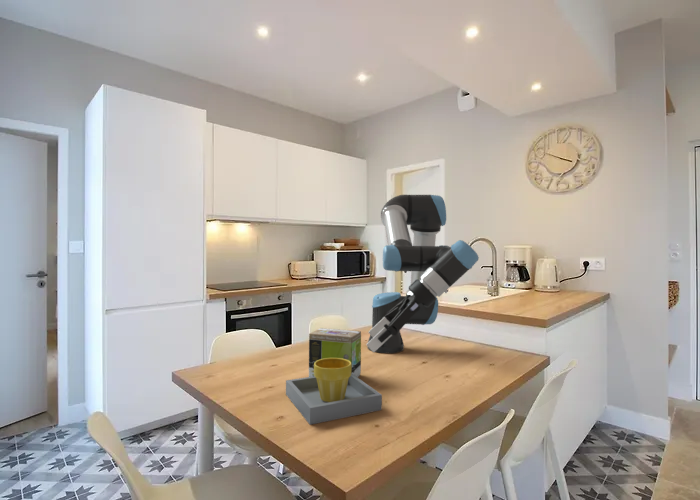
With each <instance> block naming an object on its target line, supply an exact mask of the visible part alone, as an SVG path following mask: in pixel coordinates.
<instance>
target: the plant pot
mask: <svg viewBox="0 0 700 500" xmlns="http://www.w3.org/2000/svg"><path fill="white" fill-rule="evenodd" d="M351 370H352V364H351V362H350V361H349V360H346V359H342V358H324V359H320V360H317V361H316V362H315V363H314V376H315V377H316V378H317V383H318V388H319V393H320V398H321V400H323V401H325V402H334V401H339V400H344V398H345V393H346V388H347V384H348V379H349V377H350V376H351Z"/></svg>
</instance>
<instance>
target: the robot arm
mask: <svg viewBox="0 0 700 500" xmlns="http://www.w3.org/2000/svg"><path fill="white" fill-rule="evenodd" d="M380 220H381V223H382V225H383V226H384V228H385V229H384V230H385V235H386V236H385V237H386V245H385V246H383V248H382V267H383V269H384V270H385V271H393V272H396V273H397V272H411V275H410V285H409V286H408V289H407V290H406V294H405V295H402V294H401V292H400V291H399V292H398V291H390V292H383V293H378V294H377V293H376V295H373V297H372V305H371V308H372V314H371V315H372V317H371V318H372V320H371V322H372V323H371V328H370V330H369V331H368V332H367V333H368V334H369V337H368V340H367V343H366V344H365V345H366V347H367V350H369V351H371V352H372V353H378V354H379V353H381V354H396V353H401V352H402V351H404V347H405V345H404V344H405V343H404V340H403V337H402V334H401V330H402V328H403V327H405V325H422V326H424V325H433V324H434V323H435V322H436V319H437V317H438V313H439V299H438V297H439V298H440V297H441V296H442V295H443V294H444V293H445V294H447V293H448V292H449V289H450V288H451V287H452V286H453V285H454V284H455V283H457V282H458V280H460V278H462V277H463V276H464V275H465V274H466V273H467V272H468V271H469V270H471V269H472V268H473V267H474V266H475V264H476V263H477V262H478V261H479V258H480V257H479V255H478V253H477V252H476V250H474V248H472V246H470V245H469V244H468V243H467V242H465V241H464V240H461V239H459V240H457V241H456V242H454V243H453V244H451V246H450V245H439V246H438V245H436V241H437V234H439V232H441V227H444V226H445V225H446V224H447V207H446V203H445V199H444V198H443V197H442V196H441V195H438V194H437V195H436V194H435V195H434V194H400V195H395V196H394V197H392V198H390V199H389V200H388V201H387V202H386V203H384V205H383V207H382V208H381V211H380ZM409 226H410V228H409ZM409 230H411V232H412V233H413V241H412V238H411V234H410V231H409ZM412 242H413V243H412Z"/></svg>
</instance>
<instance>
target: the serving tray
mask: <svg viewBox="0 0 700 500" xmlns="http://www.w3.org/2000/svg"><path fill="white" fill-rule="evenodd" d="M285 395H286V397H288V399H289V400H290V401H291V403H292V405H294V407H295V408H296V409H297V410H298V412H299V413H300V414H301V415H302V417H303V418H304V419H305V421H306V422H307V423H308V424H309V426H310V425H315V424H320V423H324V422H330V421H334V420H335V421H336V420H339V419H343V418H344V419H345V418H349V417H353V416H358V415H359V416H360V415H363V414H368V413H373V412H377V411H382V407H383V405H382V404H383V394H381V393H380V392H379V391H377V390H376V389H374V388H373V387H372V386H370V385H369V384H367V383H366V382H364V381H363V380H362V379H360V378H359V377H356V376H355V375H353V374H352V373H351V376H350V377H349V379H348V384H347V388H346V393H345V398H344V400H339V401H334V402H325V401H323V400H321V398H320V393H319V388H318V383H317V378H316V377H315V376H313V377H309V376H307V377H306V376H305V377H299V378H292V379H286V380H285Z"/></svg>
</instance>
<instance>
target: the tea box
mask: <svg viewBox="0 0 700 500" xmlns="http://www.w3.org/2000/svg"><path fill="white" fill-rule="evenodd" d="M324 358H342V359H346V360H349V361H350V362H351V364H352V370H351V373H352V374H353V375H355V376H356V377H357V378H359V377H360V375H361V371H362V370H361V369H362V331H361V330H350V329H340V328H339V329H338V328H327V327H325V328H324V327H319V328H318V329H316V330H313V331H312V332H310V333H309V334H308V377H313V376H314V363H315V362H316V361H317V360H320V359H324Z"/></svg>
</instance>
